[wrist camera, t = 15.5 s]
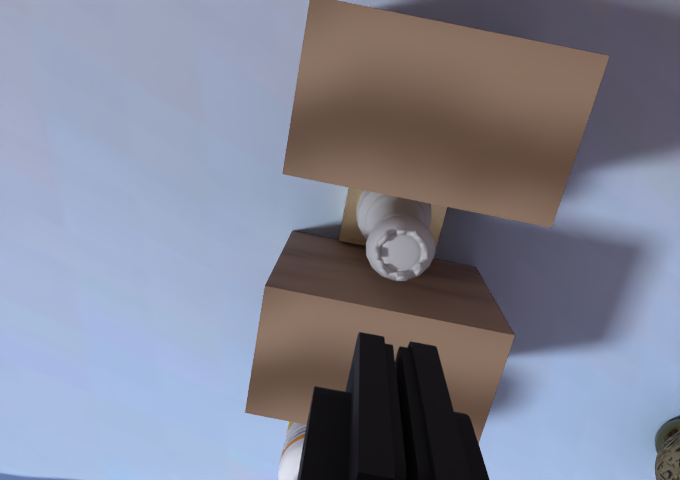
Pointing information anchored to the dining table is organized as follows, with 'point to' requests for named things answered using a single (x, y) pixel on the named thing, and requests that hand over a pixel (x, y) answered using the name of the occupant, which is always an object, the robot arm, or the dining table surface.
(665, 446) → the cup
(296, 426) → the supplement bottle
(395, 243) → the rook chess piece
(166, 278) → the dining table surface
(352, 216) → the gold metallic block
